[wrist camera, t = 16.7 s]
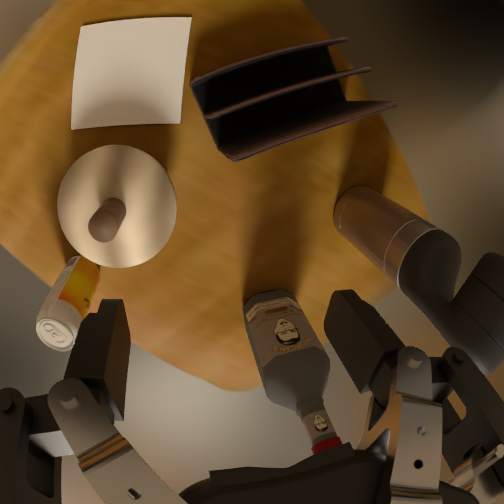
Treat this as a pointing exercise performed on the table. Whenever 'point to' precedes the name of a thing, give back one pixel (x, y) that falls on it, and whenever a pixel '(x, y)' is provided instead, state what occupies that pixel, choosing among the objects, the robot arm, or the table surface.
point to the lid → (117, 206)
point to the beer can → (68, 303)
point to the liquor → (291, 362)
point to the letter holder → (277, 99)
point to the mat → (130, 72)
